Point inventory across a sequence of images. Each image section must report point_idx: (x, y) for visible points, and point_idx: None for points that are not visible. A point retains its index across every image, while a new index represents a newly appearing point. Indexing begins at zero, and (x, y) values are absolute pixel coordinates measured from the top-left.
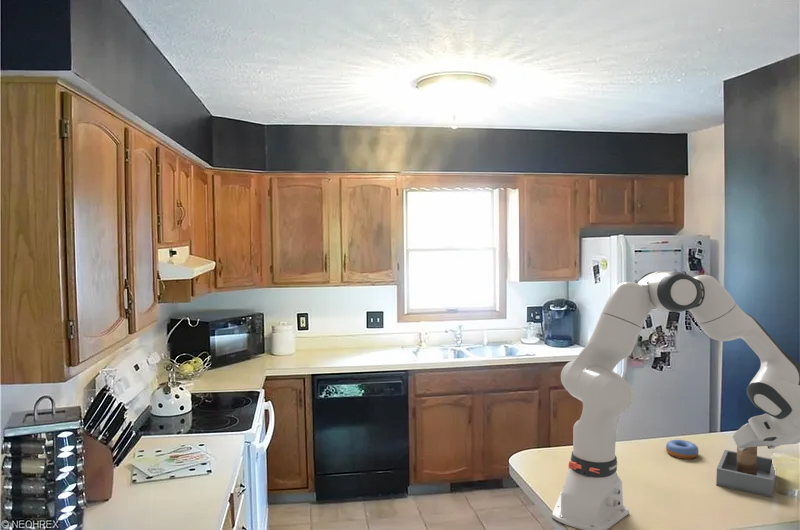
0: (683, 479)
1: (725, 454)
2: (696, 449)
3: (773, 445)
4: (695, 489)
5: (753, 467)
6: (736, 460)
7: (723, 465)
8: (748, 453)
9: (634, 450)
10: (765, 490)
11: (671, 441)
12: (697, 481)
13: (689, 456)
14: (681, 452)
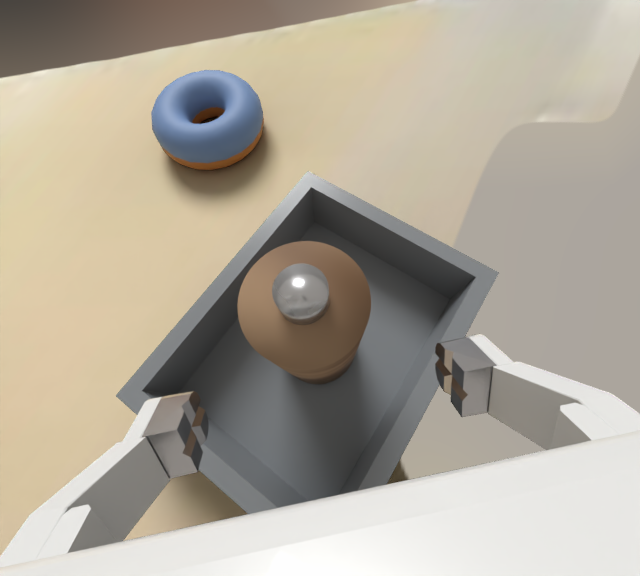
0: (69, 341)
1: (277, 220)
2: (235, 137)
3: (482, 404)
4: (46, 442)
5: (323, 378)
6: (339, 223)
7: (216, 314)
8: (284, 368)
9: (77, 115)
10: None
11: (172, 86)
12: (111, 360)
13: (207, 166)
14: (175, 153)
